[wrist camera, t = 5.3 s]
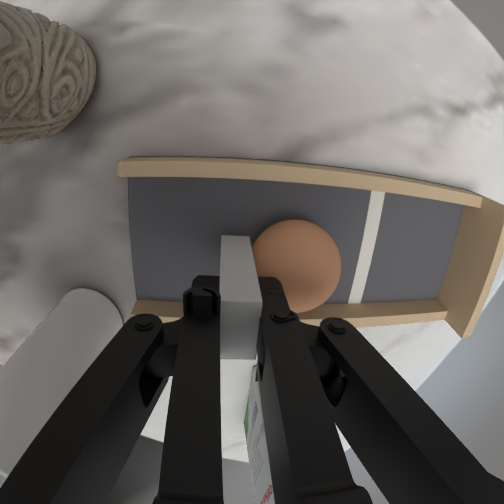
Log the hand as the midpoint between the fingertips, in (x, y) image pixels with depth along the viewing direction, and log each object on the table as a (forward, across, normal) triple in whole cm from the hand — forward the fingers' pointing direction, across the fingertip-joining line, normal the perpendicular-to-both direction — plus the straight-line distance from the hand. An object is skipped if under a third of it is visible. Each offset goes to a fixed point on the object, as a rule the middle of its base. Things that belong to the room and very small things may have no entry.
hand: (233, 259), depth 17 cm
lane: (+2, +6, 0) cm, 6 cm away
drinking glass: (+2, -10, -6) cm, 12 cm away
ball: (-1, +1, 0) cm, 2 cm away
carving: (+2, -12, +10) cm, 16 cm away
